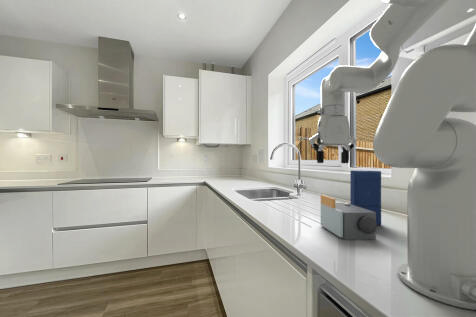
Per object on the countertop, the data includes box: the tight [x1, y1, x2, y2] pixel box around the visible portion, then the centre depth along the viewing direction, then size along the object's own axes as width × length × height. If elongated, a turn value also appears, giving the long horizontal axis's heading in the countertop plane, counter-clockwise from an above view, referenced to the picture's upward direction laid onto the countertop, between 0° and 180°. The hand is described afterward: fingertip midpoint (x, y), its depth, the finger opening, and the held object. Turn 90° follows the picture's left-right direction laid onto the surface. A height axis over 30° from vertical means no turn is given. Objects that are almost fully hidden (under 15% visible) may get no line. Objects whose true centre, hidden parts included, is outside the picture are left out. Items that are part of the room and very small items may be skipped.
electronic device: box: [349, 170, 382, 226], centre depth 77 cm, size 10×5×20 cm, turn 84°
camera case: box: [335, 202, 378, 241], centre depth 67 cm, size 16×10×9 cm, turn 5°
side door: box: [320, 194, 343, 238], centre depth 67 cm, size 12×1×11 cm, turn 5°
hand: (332, 162), depth 70 cm, fingers open, 8 cm apart
